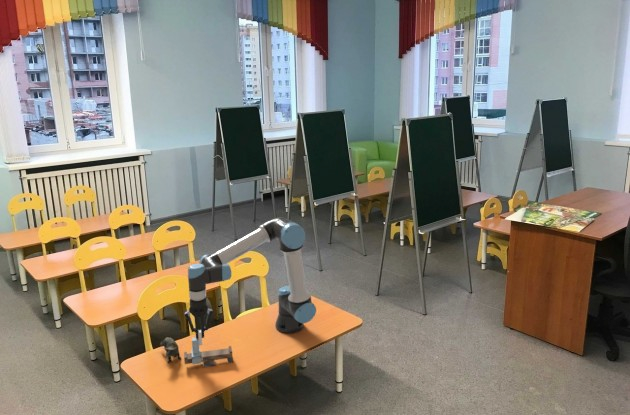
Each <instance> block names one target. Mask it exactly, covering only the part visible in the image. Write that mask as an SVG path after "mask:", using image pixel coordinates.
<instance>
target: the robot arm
mask: <svg viewBox="0 0 630 415" xmlns="http://www.w3.org/2000/svg"><path fill="white" fill-rule="evenodd" d="M275 240H277V241H278V245H279V251H280V252H282V253H283V258H284V263H285V269H286V270H285V271H286V275H287V281H288V285H284V286H282V287H280V288H279V289H278V293H277V298H278V315H277V318H276V321H275V329H276V330H277V331H278V332H281V333H282V334H283V333H284V334H295V333H297V332H298V333H299V332H300V331H302V330H303V329H304V324H307V323H309V322H310V321H312V320H313V319H314V318H315V316H316V314H317V307H316V305H315V303H313V302H312V296H311V293H310V291H308V290H307V283H306V282H307V281H306V277H305V270H304V265H303V257H302V256H303V255H302V251H301V250H302V249H303V247H304V242H305V240H306V233H305V230H304V229H303V227H302V226H301V225H299V223H297V222H294V221H293V220H290V219H289V218H288V217H283V216H279V217H278V216H277V217H275V218H272V219H270V220H268V221H266V222H264V223H262V224H260V225H259V227H258V228H257V229H255V230H254V231H252V232H250V233H248V234H246V235H244V236H243V237H241V238H239V239H237V240H235V241H234V242H233V243H230V244H229V245H227V246H225V247H223V248H221V249H220V250H218V251H216V252H214V253H212V254H204V255H202V256H201V258H200V259H199V262H198V263H193V264H191V265H189V266H188V268H187V278H188V294H189V295H188V296H189V308H188V310H187V311H185V312H184V317H185V318H186V320H187V322H188V325H189V327H190V331H191V333H195V337H196V339H198V338H199V347H200V346H203V338H205V331H208V330H209V326H210V321H211V316H212V315H213V313H214V312H213V309H212V308H209V307H208V304H207V301H208V300H207V285H210V284H214V283H220V282H225V281H228V280H230V279H231V278H232V269H231V266H230V263H231V262H233V261H234V260H236V259H238V258H239V257H241V256H243V255H245V254H247V253H248V252H250V251H252V250H254V249H256V248H257V247H259V246H261V245H262V244H264V243H266V242H267V243H271V242H272V241H275ZM206 313H207V316H206V319H205V320H206V321H205V322H204V316H205V315H206ZM191 315H192V316H193V317H194V325H193V321H192V318H191ZM199 317H200V329H199V322H198V318H199ZM204 323H205V325H204ZM194 326H195V327H194Z"/></svg>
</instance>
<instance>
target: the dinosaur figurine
mask: <svg viewBox="0 0 630 415" xmlns="http://www.w3.org/2000/svg"><path fill="white" fill-rule="evenodd" d="M159 346H160V347H163V349H164V351H165V352H166V353H165V355H164V356H165V358H166V359H167V364H172V363H173V361H172V358H173V357H174V358H175V357H177V361H181V360H182V357H181V356H180V352H179V351H180V350H179V349H180V347H179V345H178V344H177V343H176V341H175V340H174V338H172V337H168V336H167V337H165V338H164V339H163V340H162V341H160V344H159Z"/></svg>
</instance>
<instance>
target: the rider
mask: <svg viewBox="0 0 630 415" xmlns="http://www.w3.org/2000/svg"><path fill="white" fill-rule="evenodd" d="M191 346H192V348H191V351H190V352H191V353H192V363H191V364H192V365H198V364H202V362H201V353H200V352H201V347H200V346H199V338H198V339H196V336H195V337H194V336H193V337H191Z"/></svg>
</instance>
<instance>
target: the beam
mask: <svg viewBox="0 0 630 415" xmlns="http://www.w3.org/2000/svg"><path fill="white" fill-rule="evenodd" d="M200 353H201V363H203V365H202V366H203V368H209V367H215V364H216V363H215V361H219V360H227V364H230V363H234V357H233V348H232V346H231V345H228V347H227V348H219V349H213V350H212V349H211V350H205V351H200ZM183 356H184V361H183V362H184V365H189V364H192V352H188V353H187V351H184V352H183Z"/></svg>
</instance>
